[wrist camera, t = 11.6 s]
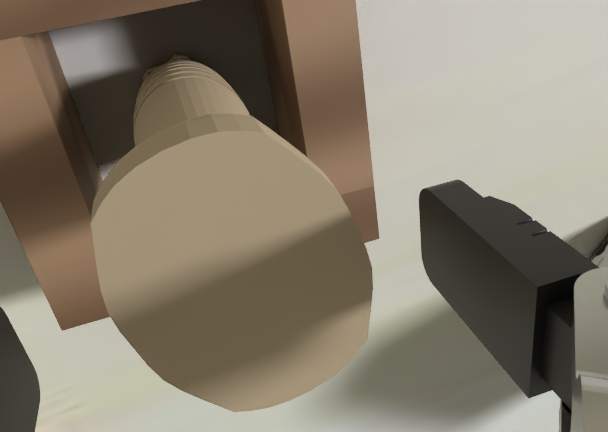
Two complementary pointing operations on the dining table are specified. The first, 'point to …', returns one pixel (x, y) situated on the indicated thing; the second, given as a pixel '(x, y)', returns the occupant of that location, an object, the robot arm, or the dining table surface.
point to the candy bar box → (601, 255)
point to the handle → (227, 249)
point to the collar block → (79, 158)
